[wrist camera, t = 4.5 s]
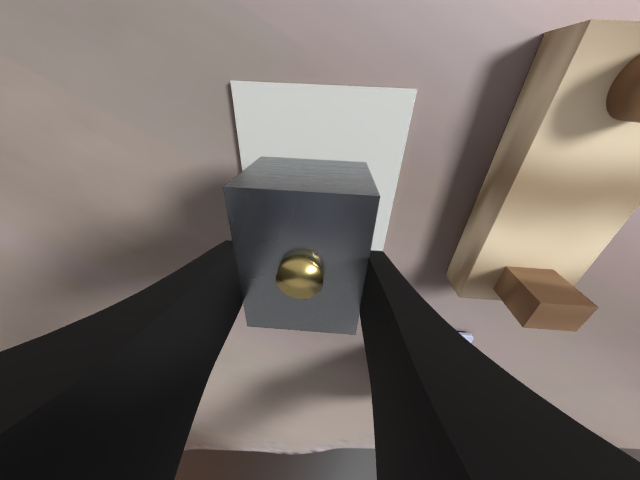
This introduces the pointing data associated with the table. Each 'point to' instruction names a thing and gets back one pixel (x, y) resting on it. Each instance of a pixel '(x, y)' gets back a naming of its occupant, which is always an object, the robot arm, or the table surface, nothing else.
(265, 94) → the felt mat
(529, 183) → the body
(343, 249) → the lever cap
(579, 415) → the table surface
